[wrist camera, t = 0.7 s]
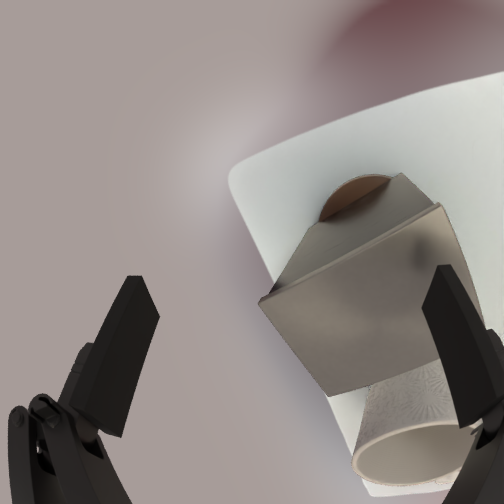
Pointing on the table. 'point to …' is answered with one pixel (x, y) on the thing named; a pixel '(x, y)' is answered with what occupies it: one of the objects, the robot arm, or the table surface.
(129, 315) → the robot arm
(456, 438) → the planter
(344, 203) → the disc
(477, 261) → the table surface
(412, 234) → the bin
